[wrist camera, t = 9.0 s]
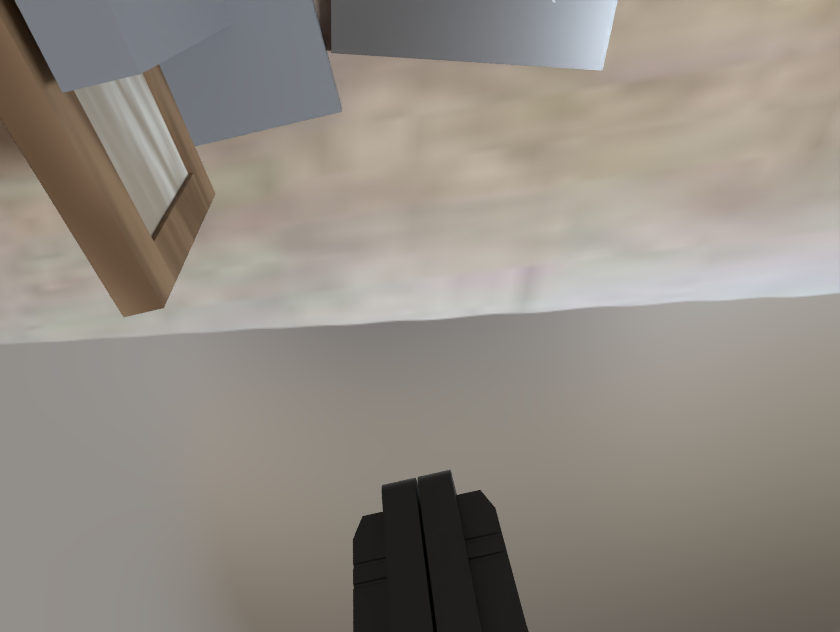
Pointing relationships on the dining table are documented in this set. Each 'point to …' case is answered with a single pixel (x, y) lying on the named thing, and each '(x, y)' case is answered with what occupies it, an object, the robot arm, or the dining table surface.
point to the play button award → (477, 30)
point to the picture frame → (108, 166)
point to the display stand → (196, 56)
